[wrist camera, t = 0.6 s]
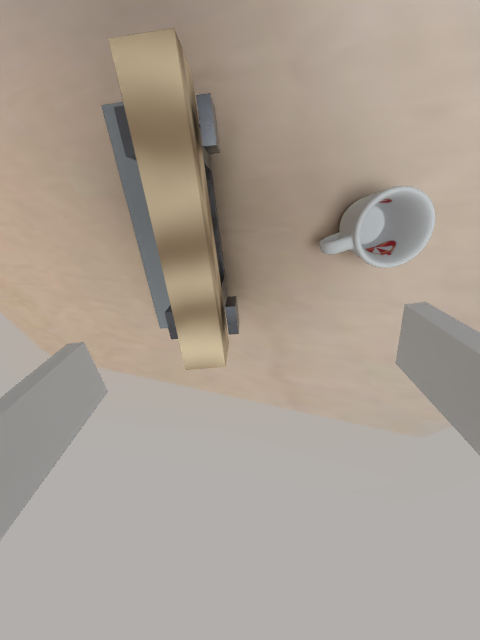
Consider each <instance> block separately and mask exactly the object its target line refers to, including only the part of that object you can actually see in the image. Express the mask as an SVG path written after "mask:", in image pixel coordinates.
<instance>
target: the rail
mask: <svg viewBox="0 0 480 640" xmlns="http://www.w3.org/2000/svg"><path fill="white" fill-rule="evenodd" d="M108 39H109V43H110V48H111V52H112V56H113V60H114V65H115V69H116V73H117V78H118V82H119V86H120V90H121V95H122V99H123V103H124V108H125V112H126V116H127V120H128V125H129V129H130V133H131V137H132V142H133V146H134V150H135V155H136V159H137V163H138V167H139V172H140V176H141V180H142V185H143V189H144V193H145V197H146V202H147V206H148V210H149V215H150V219H151V223H152V227H153V232H154V236H155V240H156V244H157V249H158V253H159V257H160V262H161V266H162V270H163V274H164V279H165V283H166V287H167V292H168V296H169V300H170V304H171V309H172V313H173V317H174V321H175V326H176V330H177V334H178V339H179V343H180V347H181V351H182V356H183V360H184V364H185V369H186V370H189V369H203V368H217V367H226V360H227V352H228V344H229V340H228V332H227V325H226V318H225V311H224V304H223V296H222V289H221V282H220V275H219V268H218V260H217V253H216V246H215V239H214V232H213V224H212V217H211V210H210V203H209V196H208V188H207V181H206V174H205V167H204V160H203V152H202V145H201V138H200V131H199V124H198V116H197V109H196V102H195V95H194V88H193V80H192V73H191V69H190V66H189V64H188V61H187V59H186V57H185V54H184V52H183V49H182V47H181V44H180V42H179V39H178V37H177V34H176V32H175V29H174V28H170V29H164V30H158V31H151V32H145V33H139V34H133V35H126V36H120V37H114V38H108Z"/></svg>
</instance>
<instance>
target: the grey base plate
mask: <svg viewBox="0 0 480 640" xmlns="http://www.w3.org/2000/svg"><path fill="white" fill-rule="evenodd" d="M101 106H102V109H103V113H104V117H105V121H106V125H107V128H108V132H109V136H110V140H111V144H112V147H113V151H114V155H115V159H116V163H117V166H118V170H119V174H120V178H121V182H122V185H123V189H124V193H125V197H126V201H127V204H128V208H129V212H130V216H131V219H132V223H133V227H134V231H135V235H136V238H137V242H138V246H139V250H140V254H141V257H142V261H143V265H144V269H145V273H146V276H147V280H148V284H149V288H150V292H151V295H152V299H153V303H154V307H155V311H156V314H157V318H158V322H159V326H160V328H168V325H167V321H166V317H165V311H166V310H167V309H168V307H169V306H170V305H171V304H170V300H169V296H168V292H167V287H166V283H165V279H164V274H163V270H162V266H161V262H160V257H159V253H158V249H157V244H156V240H155V236H154V232H153V227H152V223H151V219H150V215H149V210H148V206H147V202H146V197H145V193H144V189H143V185H142V180H141V176H140V172H139V167H138V163H137V161H135V160H133V159H131V158H128V157H126V155H125V151H124V147H123V143H122V139H121V135H120V131H119V127H118V123H117V119H116V115H115V111H114V107H117V106H124V103H123V102H121V103H114V104H107V105H101Z"/></svg>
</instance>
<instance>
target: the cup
mask: <svg viewBox="0 0 480 640" xmlns="http://www.w3.org/2000/svg"><path fill="white" fill-rule="evenodd" d="M434 224H435V210H434V206H433V204H432V202H431V200H430V198H429V197H428V196H427V195H426V194H425V193H424V192H422V191H421V190H419V189H417V188H414V187H409V186H399V187H393V188H390V189H387V190H384V191H381V192H378V193H375V194H372V195H369V196H366V197H363V198H361V199H359V200H357V201H356V202H354V203H353V204H352V205H351V206H350V207H349V208H348V209H347V210H346V211H345V213H344V215H343V216H342V219H341V222H340V228H339V233H336V234H334V235H331V236H328V237H326V238H324V239H322V240H321V241H320V244H319V246H320V250H321V252H322V253H324V254H336V253H340V252H343V251H347V250H351V251H352V252H353V253H355V254H356V255H357V256H358V257H360V258H361V259H362V260H364V261H365V262H366V263H368V264H370V265H372V266H375V267H380V268H390V267H395V266H399V265H401V264H404V263H406V262H407V261H409V260H411V259H412V258H414V257H415V256H416V255H417V254H418V253H419V252H420V251H421V250H422V249H423V248H424V247H425V245H426V244H427V242H428V240H429V239H430V237H431V234H432V232H433V229H434Z"/></svg>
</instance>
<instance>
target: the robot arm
mask: <svg viewBox="0 0 480 640" xmlns="http://www.w3.org/2000/svg"><path fill="white" fill-rule="evenodd" d="M396 364H397V365H398V366H399V368H400V369H401V370H402V371H403V372H404V373H405V374H406V375H407V376H408V377H409V379H410V380H411V381H412V382H413V383H414V384H415V385H416V386H417V387H418V388H419V389H420V391H421V392H422V393H423V394H424V395H425V396H426V397H427V398H428V399H429V400H430V402H431V403H432V404H433V405H434V406H435V407H436V408H437V409H438V410H439V411H440V412H441V414H442V415H443V416H444V417H445V418H446V419H447V420H448V421H449V422H450V423H451V425H452V426H453V427H454V428H455V429H456V430H457V431H458V432H459V433H460V434H461V435H462V436H463V438H464V439H465V440H466V441H467V442H468V443H469V444H470V445H471V446H472V447H473V448H474V450H475V451H476V452H477V453H478V454H479V455H480V333H479V332H477V331H476V330H474V329H472V328H470V327H469V326H467V325H465V324H463V323H462V322H460V321H458V320H456V319H455V318H453V317H451V316H449V315H448V314H446V313H444V312H442V311H441V310H439V309H437V308H435V307H434V306H432V305H430V304H428V303H426V302H422V303H414V304H405V307H404V313H403V319H402V326H401V332H400V338H399V345H398V351H397V357H396ZM107 392H108V391H107V388H106V386H105V384H104V382H103V380H102V378H101V376H100V374H99V372H98V370H97V368H96V366H95V364H94V361H93V359H92V357H91V355H90V353H89V351H88V349H87V347H86V345H85V343H84V342H80V343H71V344H67V345H65V346H64V347H63V348H62V349H60V350H59V351H58V352H57V353H55V354H54V355H53V356H52V357H51V358H49V359H48V360H47V361H46V362H44V363H43V364H42V365H41V366H39V367H38V368H37V369H36V370H34V371H33V372H32V373H31V374H29V375H28V376H27V377H26V378H24V379H23V380H22V381H21V382H19V383H18V384H17V385H16V386H14V387H13V388H12V389H11V390H10V391H8V392H7V393H6V394H5V395H4V396H2V397H1V398H0V540H1V539H2V537H3V536H4V535H5V533H6V532H7V530H8V529H9V528H10V526H11V525H12V524H13V522H14V521H15V520H16V518H17V517H18V515H19V514H20V513H21V511H22V510H23V508H24V507H25V506H26V504H27V503H28V501H29V500H30V499H31V497H32V496H33V495H34V493H35V492H36V490H37V489H38V488H39V486H40V485H41V484H42V482H43V481H44V479H45V478H46V477H47V475H48V474H49V472H50V471H51V470H52V468H53V467H54V466H55V464H56V463H57V461H58V460H59V459H60V457H61V456H62V454H63V453H64V452H65V450H66V449H67V447H68V446H69V445H70V443H71V441H73V439H74V438H75V436H76V435H77V434H78V432H79V431H80V430H81V428H82V427H83V425H84V424H85V423H86V421H87V420H88V418H89V417H90V416H91V414H92V413H93V412H94V410H95V409H96V407H97V406H98V405H99V403H100V402H101V400H102V399H103V398H104V396H105V395H106V394H107Z"/></svg>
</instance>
